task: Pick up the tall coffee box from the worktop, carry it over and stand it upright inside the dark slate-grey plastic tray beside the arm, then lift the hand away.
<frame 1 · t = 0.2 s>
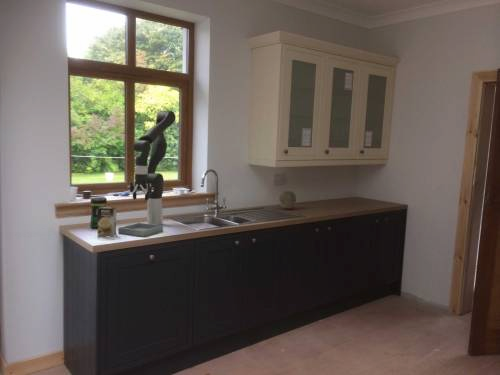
hand: (140, 199, 263), 18 cm above the worktop, tool pointing down, fingers open, 8 cm apart
coffee box: (107, 235, 243), on the worktop
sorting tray: (140, 232, 253), on the worktop
cantaloupe: (287, 209, 359), on the worktop
coffee jar: (98, 227, 264), on the worktop
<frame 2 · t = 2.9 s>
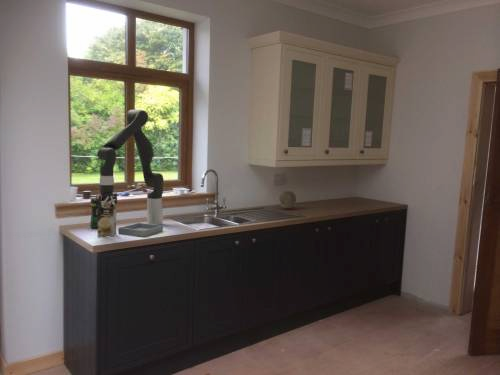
hand: (106, 212, 241), 13 cm above the worktop, tool pointing down, fingers open, 8 cm apart
nothing on the worktop moved.
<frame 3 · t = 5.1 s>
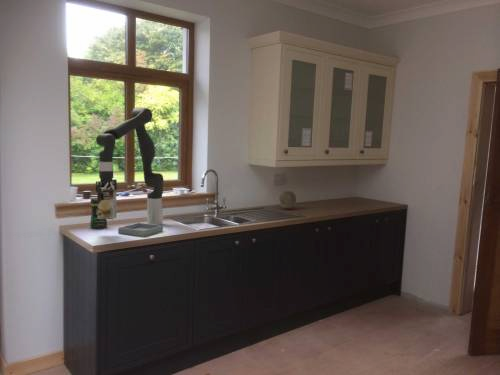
hand: (106, 198, 241), 21 cm above the worktop, tool pointing down, fingers closed on coffee box, 8 cm apart
coffee box: (107, 218, 242), point 10 cm above the worktop, touching gripper
everything else where it was.
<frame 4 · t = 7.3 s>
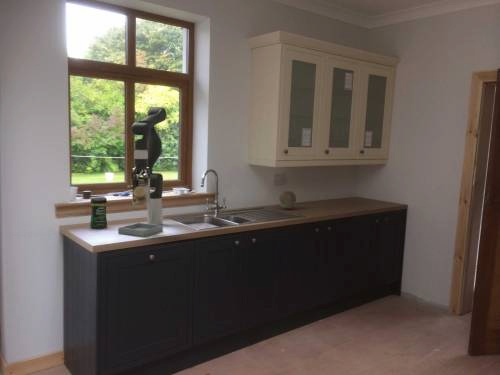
hand: (141, 185, 250), 28 cm above the worktop, tool pointing down, fingers closed on coffee box, 8 cm apart
coffee box: (141, 204, 251), point 16 cm above the worktop, touching gripper
everything else where it was.
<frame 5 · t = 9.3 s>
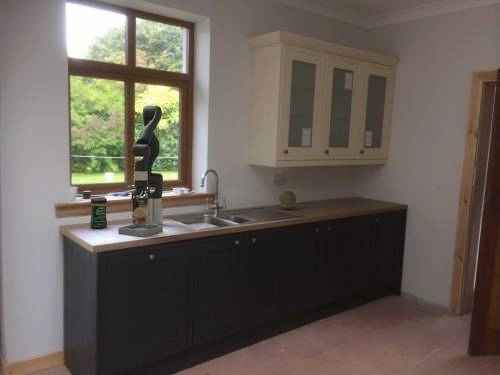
hand: (140, 206, 251), 15 cm above the worktop, tool pointing down, fingers closed on coffee box, 8 cm apart
coffee box: (141, 225, 253), point 4 cm above the worktop, touching gripper
everything else where it was.
when the fingers open (14 cm above the worktop, at t = 10.9 s): coffee box drops 2 cm, resting on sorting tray.
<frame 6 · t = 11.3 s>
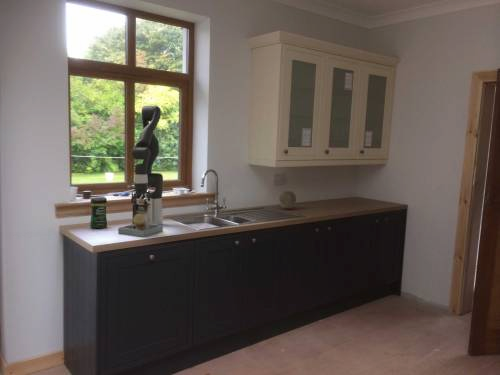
hand: (140, 209, 251), 14 cm above the worktop, tool pointing down, fingers open, 8 cm apart
coffee box: (141, 231, 253), point 1 cm above the worktop, touching gripper, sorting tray
everything else where it was.
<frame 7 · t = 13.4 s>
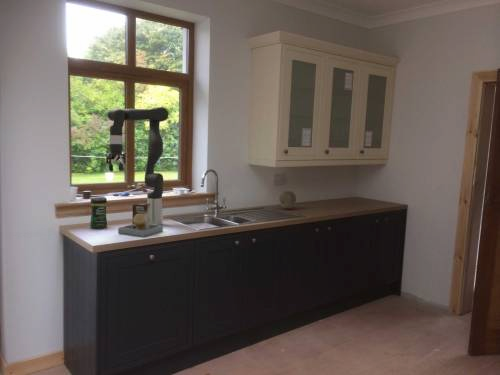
hand: (116, 170, 254), 35 cm above the worktop, tool pointing down, fingers open, 8 cm apart
coffee box: (141, 231, 253), point 1 cm above the worktop, touching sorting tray
everything else where it was.
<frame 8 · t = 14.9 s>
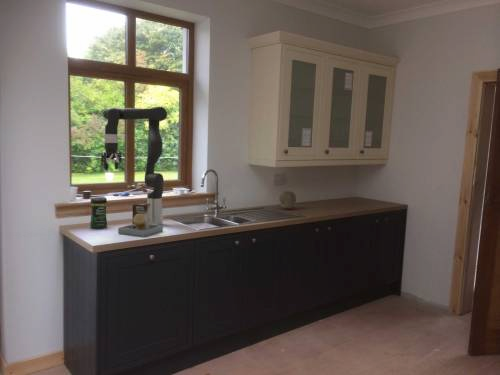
hand: (111, 169, 255), 36 cm above the worktop, tool pointing down, fingers open, 8 cm apart
nothing on the worktop moved.
at the end: coffee box inside the target area on the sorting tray (0.2 cm from its centre), point 0.6 cm above the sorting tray's base; coffee box tilted 0°; the gripper is holding nothing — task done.
